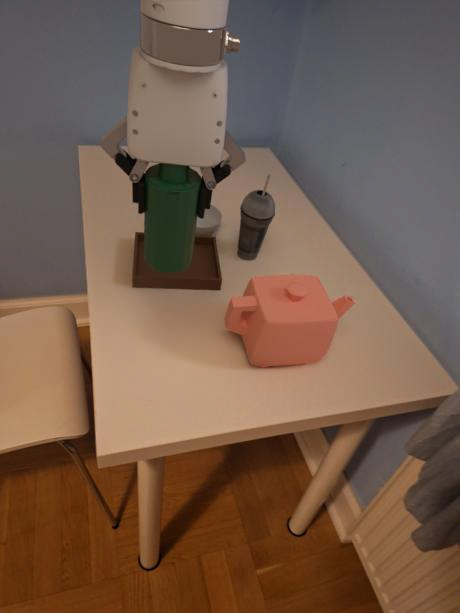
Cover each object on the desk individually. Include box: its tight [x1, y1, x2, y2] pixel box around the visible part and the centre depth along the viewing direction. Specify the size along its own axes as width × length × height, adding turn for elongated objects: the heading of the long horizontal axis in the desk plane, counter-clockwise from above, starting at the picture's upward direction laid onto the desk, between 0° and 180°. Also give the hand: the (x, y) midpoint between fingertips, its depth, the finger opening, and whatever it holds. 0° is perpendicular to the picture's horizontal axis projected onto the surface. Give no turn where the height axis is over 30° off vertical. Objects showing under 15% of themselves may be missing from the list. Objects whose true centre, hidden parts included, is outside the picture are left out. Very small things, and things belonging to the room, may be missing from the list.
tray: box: [131, 231, 223, 291], centre depth 83 cm, size 17×14×3 cm
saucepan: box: [195, 203, 223, 236], centre depth 96 cm, size 11×18×4 cm, turn 13°
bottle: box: [143, 163, 202, 273], centre depth 49 cm, size 6×6×16 cm
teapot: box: [223, 274, 356, 369], centre depth 69 cm, size 22×13×14 cm, turn 101°
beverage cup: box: [236, 174, 276, 261], centre depth 84 cm, size 7×7×20 cm
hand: (171, 208), depth 50 cm, fingers closed on bottle, 6 cm apart
